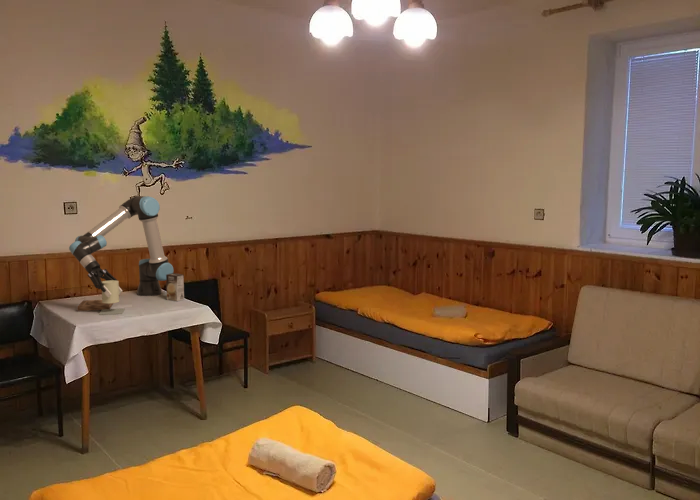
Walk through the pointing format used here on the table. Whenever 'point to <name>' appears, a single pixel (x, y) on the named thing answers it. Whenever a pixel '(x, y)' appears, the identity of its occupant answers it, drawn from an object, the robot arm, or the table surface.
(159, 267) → the robot arm
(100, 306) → the puzzle board
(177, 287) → the coffee box
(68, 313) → the table surface
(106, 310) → the mat
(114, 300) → the can
